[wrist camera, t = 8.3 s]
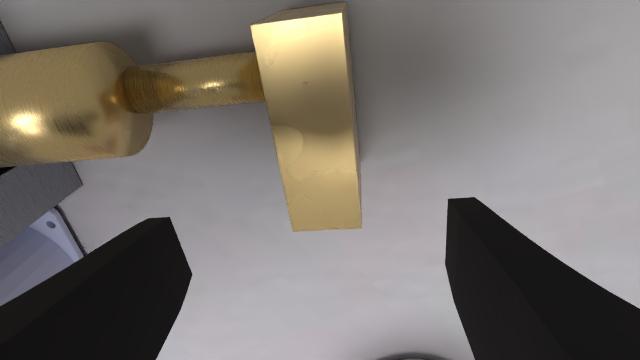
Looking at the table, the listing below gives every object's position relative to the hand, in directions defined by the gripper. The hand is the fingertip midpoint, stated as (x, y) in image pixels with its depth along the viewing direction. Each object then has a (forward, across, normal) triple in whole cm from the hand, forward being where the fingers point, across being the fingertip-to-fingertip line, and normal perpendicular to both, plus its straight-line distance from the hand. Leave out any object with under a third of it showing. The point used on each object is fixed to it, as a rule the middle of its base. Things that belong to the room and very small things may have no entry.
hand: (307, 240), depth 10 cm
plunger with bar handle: (+8, +6, -2) cm, 10 cm away
